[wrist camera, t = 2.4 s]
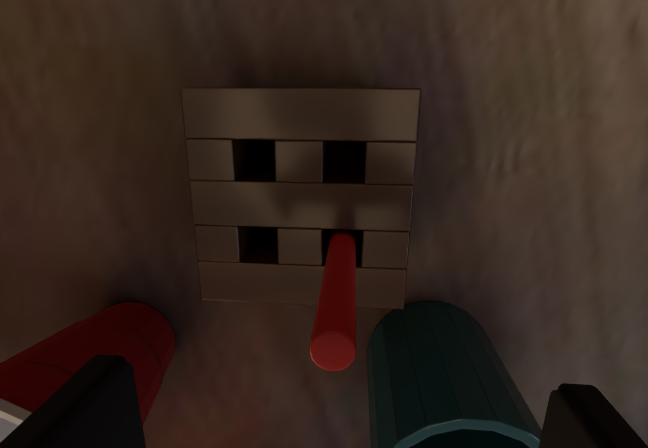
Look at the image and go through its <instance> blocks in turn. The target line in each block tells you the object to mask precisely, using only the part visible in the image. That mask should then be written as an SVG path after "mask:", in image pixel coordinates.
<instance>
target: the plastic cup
mask: <svg viewBox="0 0 648 448" xmlns="http://www.w3.org/2000/svg"><path fill="white" fill-rule="evenodd" d="M174 349H175V334H174V332H173V330H172V327H171V325H170V323H169V321H168V320H167V319H166V318H165V317H164V316H163V315H162V314H161V313H160V312H159V311H157V310H155V309H153V308H152V307H150V306H148V305H146V304H142V303H136V302H125V303H121V304H117V305H114V306H111V307H107V308H106V309H104V310H102V311H100V312H98V313H96V314H95V315H93V316H91V317H89V318H87V319H85V320H84V321H80V322H76V323H75V324H73V325H71V326H69V327H67V328H65V329H63V330H62V331H60V332H58V333H56V334H54V335H52V336H50V337H49V338H47V339H45V340H43V341H41V342H39V343H37V344H35V345H34V346H32V347H30V348H28V349H26V350H24V351H22V352H21V353H19V354H17V355H15V356H13V357H11V358H9V359H8V360H6V361H4V362H2V363H0V442H1V441H2V440H4V439H5V438H6V437H7V436H8V435H9V434H10V433H11V432H12V431H13V430H14V429H15V428H17V427H18V426H19V425H20V424H21V423H22V422H23V421H24V420H25V419H26V418H27V417H28V416H29V415H31V414H32V413H33V412H34V411H35V410H36V409H37V408H38V407H39V406H40V405H41V404H42V403H44V402H45V401H46V400H47V399H48V398H49V397H50V396H51V395H52V394H53V393H54V392H55V391H57V390H58V389H59V388H60V387H61V386H62V385H63V384H64V383H65V382H66V381H67V380H68V379H69V378H71V377H72V376H73V375H74V374H75V373H76V372H77V371H78V370H79V369H80V368H81V367H82V366H84V365H85V364H86V363H87V362H88V361H89V360H90V359H91V358H92V357H94V356H95V355H98V354H105V355H121V356H124V357H125V358H126V359H127V363H131V364H132V366H133V370H134V377H135V383H136V389H137V395H138V402H139V408H140V414H141V420H142V426H143V424H144V422H145V420H146V417H147V415H148V413H149V411H150V408H151V406H152V404H153V402H154V399H155V397H156V395H157V393H158V390H159V388H160V386H161V384H162V378H163V376H164V374H165V371H166V369H167V367H168V365H169V363H170V361H171V359H172V356H173V351H174Z"/></svg>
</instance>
